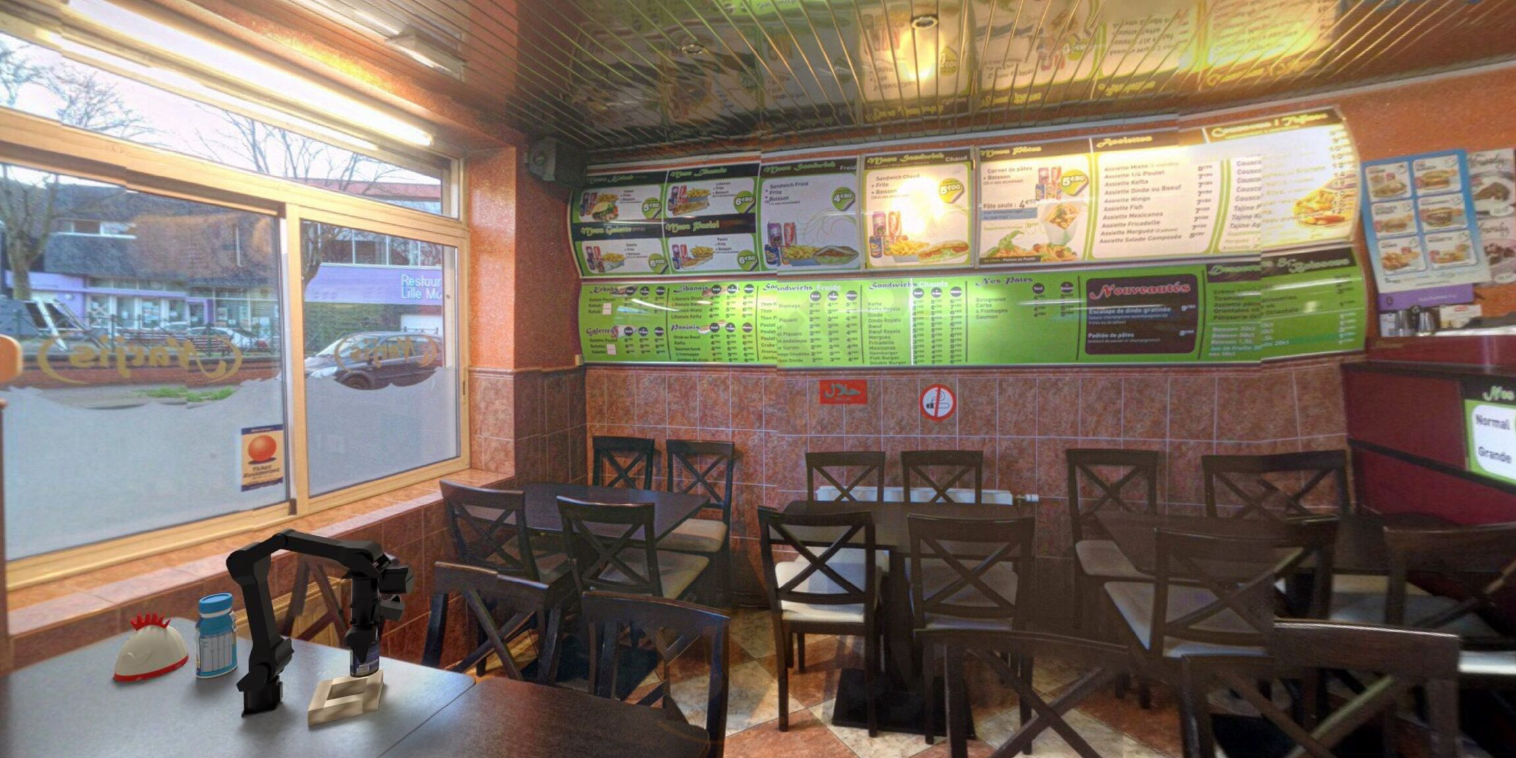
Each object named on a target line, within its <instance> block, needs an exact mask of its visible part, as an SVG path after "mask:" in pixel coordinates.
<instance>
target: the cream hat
mask: <svg viewBox="0 0 1516 758" xmlns="http://www.w3.org/2000/svg"><path fill="white" fill-rule="evenodd" d="M164 618H165V615H162V616H160V617H159V618H158V614H157V612H156V611H155V612H154V613H152V616H151V614H150V612H148V613H146V614H145V616H144V618H143V616H142V614H140V613H139V614H138V615H136V620H135V619H131V620H130V624H131V626H132V627H133V628H134V629H135V632H134V633H133V634H132V635H130V636H129V638H128V639H127V641H125V643H124V644H123V646H122V647H121V649H120V651H119V653H118V656H117V659H116V661H115V664H114V670H113V671H114V673H113V675H114V680H116V681H118V682H126V683H129V682H137V681H142V680H143V681H144V680H147V679H151V678H155V677H159V676H161V675H164V674H167V673H170V672H173V671H174V670H177V669H179V668H180V667H182V666H183V665H185V664H186V663H187V662H188V661H189V650H188V646H187V645H186V642H185V640H184V638H183V637H182V635H181V633H180V632H179V631H178V630H176V629H175V628H174V627H172V626H170V625H169V624H170V622H171V618H169V619H168V620H167V621H166V622H165V623H164V622H163V621H164Z"/></svg>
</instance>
